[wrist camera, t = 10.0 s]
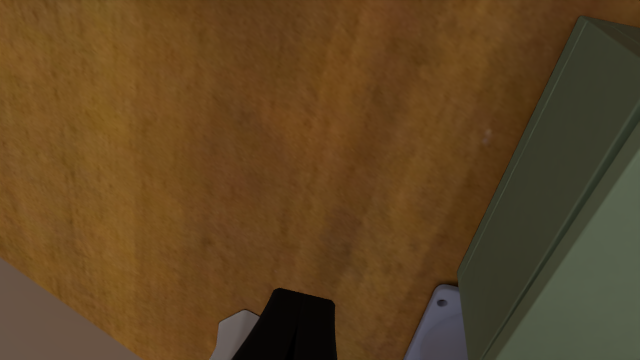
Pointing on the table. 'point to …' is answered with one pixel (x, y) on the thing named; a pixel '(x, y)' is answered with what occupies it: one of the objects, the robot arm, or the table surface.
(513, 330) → the lid
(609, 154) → the chest
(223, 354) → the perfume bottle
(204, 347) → the table surface
